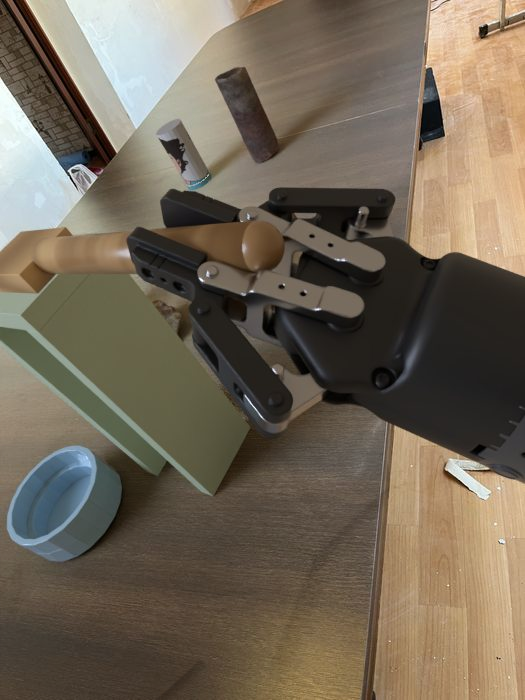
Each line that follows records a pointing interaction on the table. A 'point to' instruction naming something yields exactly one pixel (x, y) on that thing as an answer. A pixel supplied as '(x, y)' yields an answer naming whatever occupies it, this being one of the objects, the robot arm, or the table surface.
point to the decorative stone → (168, 314)
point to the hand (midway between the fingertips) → (151, 227)
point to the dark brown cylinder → (248, 113)
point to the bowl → (64, 504)
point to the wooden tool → (114, 258)
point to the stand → (124, 373)
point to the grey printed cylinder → (183, 153)
